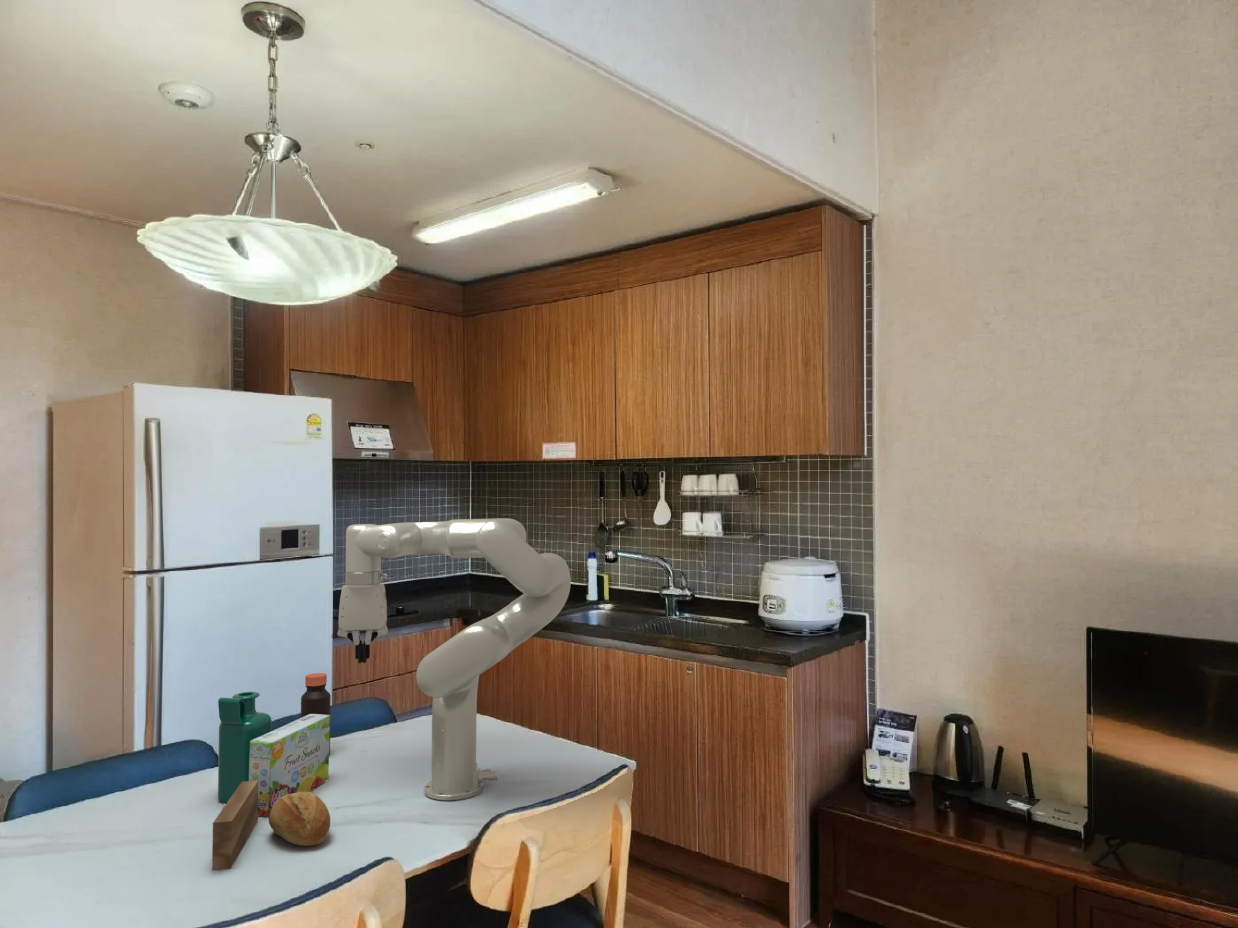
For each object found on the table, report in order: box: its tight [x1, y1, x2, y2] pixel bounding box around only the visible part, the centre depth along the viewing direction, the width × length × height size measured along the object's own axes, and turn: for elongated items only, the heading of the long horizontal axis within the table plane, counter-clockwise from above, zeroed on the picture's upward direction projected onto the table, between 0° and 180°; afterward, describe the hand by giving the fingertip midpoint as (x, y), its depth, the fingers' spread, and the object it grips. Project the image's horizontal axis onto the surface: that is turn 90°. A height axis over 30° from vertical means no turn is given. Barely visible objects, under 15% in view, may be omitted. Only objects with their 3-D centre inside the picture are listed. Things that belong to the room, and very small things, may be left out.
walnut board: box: [211, 780, 259, 871], centre depth 145 cm, size 3×20×8 cm, turn 13°
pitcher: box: [217, 691, 273, 803], centre depth 168 cm, size 10×8×22 cm
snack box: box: [249, 714, 331, 818], centre depth 168 cm, size 21×6×15 cm, turn 168°
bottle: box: [300, 672, 332, 756], centre depth 194 cm, size 7×7×20 cm
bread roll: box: [268, 791, 331, 847], centre depth 148 cm, size 10×15×8 cm, turn 46°
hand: (362, 661), depth 176 cm, fingers closed
